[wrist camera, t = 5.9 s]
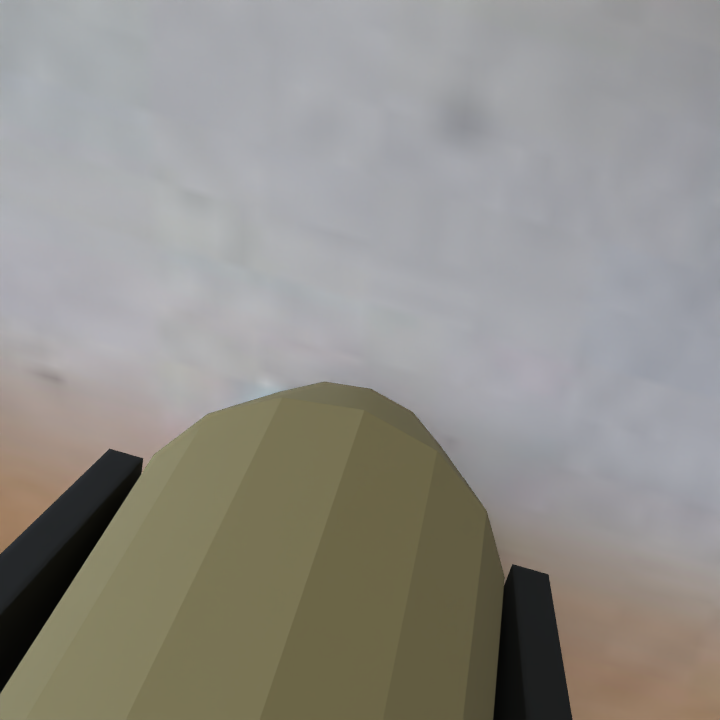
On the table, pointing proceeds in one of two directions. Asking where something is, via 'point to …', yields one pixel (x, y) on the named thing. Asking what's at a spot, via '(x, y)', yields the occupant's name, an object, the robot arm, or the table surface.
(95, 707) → the squeeze bottle
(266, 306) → the table surface
